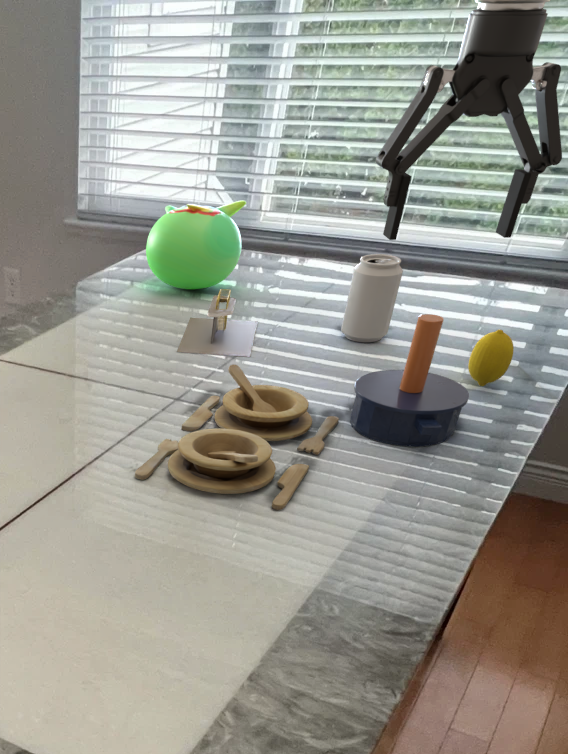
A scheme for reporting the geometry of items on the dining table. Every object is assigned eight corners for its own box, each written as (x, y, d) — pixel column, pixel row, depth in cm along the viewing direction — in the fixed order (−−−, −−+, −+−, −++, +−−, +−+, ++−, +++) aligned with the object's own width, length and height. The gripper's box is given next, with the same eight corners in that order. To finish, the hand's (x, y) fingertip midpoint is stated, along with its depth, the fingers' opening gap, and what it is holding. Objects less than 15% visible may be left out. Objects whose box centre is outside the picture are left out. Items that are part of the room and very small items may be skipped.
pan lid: (443, 376, 118) (467, 299, 111) (483, 418, 107) (512, 335, 101) (340, 378, 118) (357, 301, 112) (370, 420, 108) (391, 338, 101)
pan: (426, 397, 122) (436, 366, 119) (476, 454, 108) (488, 420, 105) (334, 399, 123) (341, 368, 120) (371, 456, 109) (380, 422, 106)
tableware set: (281, 513, 99) (290, 465, 95) (128, 479, 106) (130, 434, 102) (342, 419, 118) (352, 376, 114) (208, 396, 125) (213, 355, 121)
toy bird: (133, 294, 163) (138, 207, 153) (158, 271, 174) (164, 188, 164) (225, 303, 157) (236, 213, 147) (244, 278, 168) (256, 193, 158)
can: (358, 326, 146) (376, 249, 138) (395, 337, 141) (415, 258, 133) (330, 335, 143) (346, 257, 135) (367, 347, 138) (386, 267, 130)
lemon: (498, 395, 122) (519, 338, 117) (458, 389, 124) (476, 332, 119) (503, 382, 126) (523, 326, 120) (464, 376, 128) (482, 321, 122)
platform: (257, 321, 149) (263, 281, 145) (250, 356, 136) (256, 313, 132) (190, 317, 152) (194, 277, 147) (176, 351, 139) (180, 309, 135)
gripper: (614, 1, 90) (537, 226, 104) (378, 7, 90) (334, 230, 105) (651, 4, 84) (564, 241, 99) (400, 11, 85) (350, 245, 99)
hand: (445, 236), depth 102 cm, fingers open, 13 cm apart
